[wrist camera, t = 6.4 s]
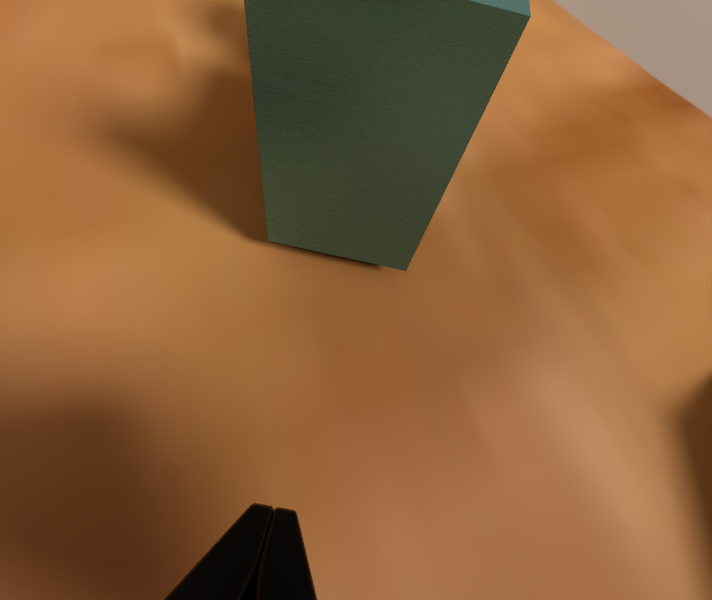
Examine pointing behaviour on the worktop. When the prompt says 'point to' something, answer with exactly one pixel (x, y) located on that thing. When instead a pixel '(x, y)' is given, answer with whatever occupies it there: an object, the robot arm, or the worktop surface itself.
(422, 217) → the teal green slab
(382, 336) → the worktop surface
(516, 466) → the worktop surface
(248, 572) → the robot arm
